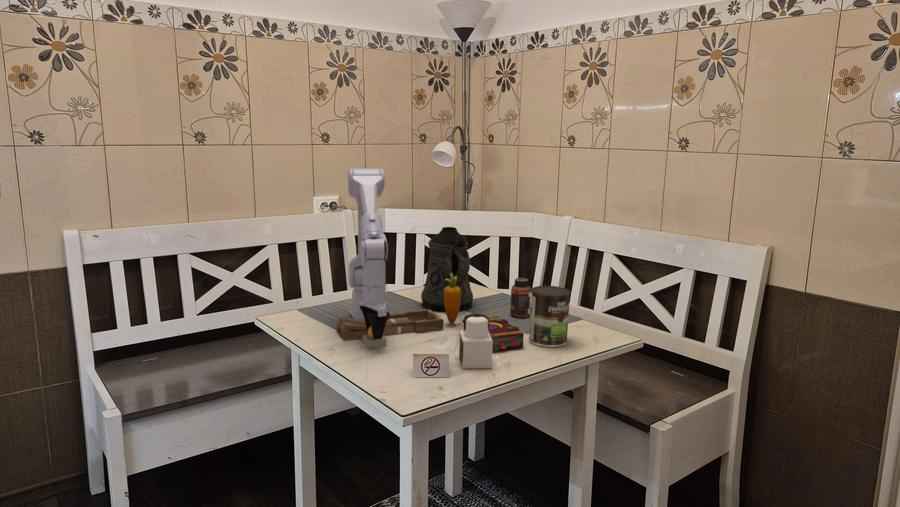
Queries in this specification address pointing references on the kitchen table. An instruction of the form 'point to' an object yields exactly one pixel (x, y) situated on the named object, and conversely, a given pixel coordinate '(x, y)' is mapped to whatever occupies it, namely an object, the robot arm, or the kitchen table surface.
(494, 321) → the decorative book
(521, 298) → the supplement bottle
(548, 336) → the coffee can
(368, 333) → the ball
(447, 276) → the beer stein
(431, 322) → the brown wooden shallow tray
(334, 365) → the kitchen table surface
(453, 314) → the carrot
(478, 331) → the medicine bottle
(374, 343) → the gray box
